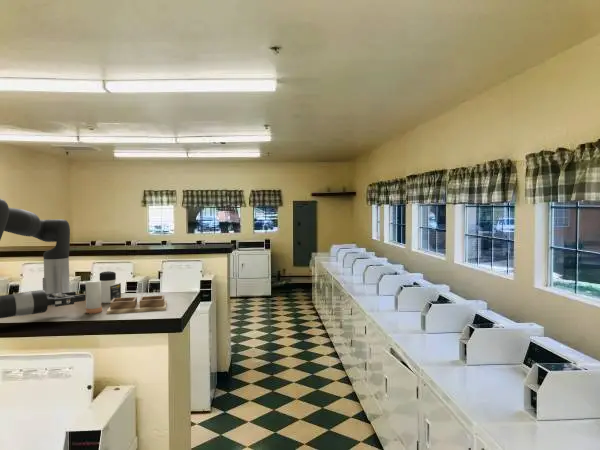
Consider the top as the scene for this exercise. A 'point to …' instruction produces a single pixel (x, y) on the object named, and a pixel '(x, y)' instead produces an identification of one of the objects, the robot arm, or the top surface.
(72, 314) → the top surface
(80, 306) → the top surface
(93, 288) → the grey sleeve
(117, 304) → the socket board
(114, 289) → the medicine bottle
